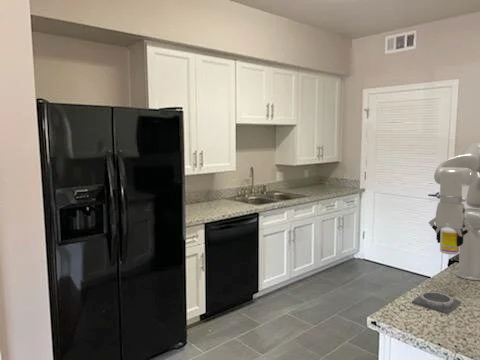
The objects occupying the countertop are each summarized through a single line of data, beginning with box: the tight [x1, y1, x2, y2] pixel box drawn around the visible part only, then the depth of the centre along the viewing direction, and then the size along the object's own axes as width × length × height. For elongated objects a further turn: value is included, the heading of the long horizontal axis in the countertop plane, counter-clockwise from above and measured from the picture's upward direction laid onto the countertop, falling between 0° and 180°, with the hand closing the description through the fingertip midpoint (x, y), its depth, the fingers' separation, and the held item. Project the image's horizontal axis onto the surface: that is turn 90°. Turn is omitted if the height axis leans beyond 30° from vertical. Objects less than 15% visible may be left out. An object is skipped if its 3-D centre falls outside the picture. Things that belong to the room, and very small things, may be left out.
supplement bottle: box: [439, 223, 460, 255], centre depth 147 cm, size 7×7×13 cm
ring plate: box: [411, 291, 462, 315], centre depth 141 cm, size 13×13×2 cm
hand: (449, 243), depth 147 cm, fingers closed on supplement bottle, 6 cm apart
